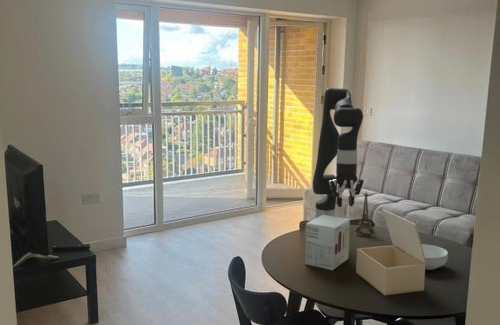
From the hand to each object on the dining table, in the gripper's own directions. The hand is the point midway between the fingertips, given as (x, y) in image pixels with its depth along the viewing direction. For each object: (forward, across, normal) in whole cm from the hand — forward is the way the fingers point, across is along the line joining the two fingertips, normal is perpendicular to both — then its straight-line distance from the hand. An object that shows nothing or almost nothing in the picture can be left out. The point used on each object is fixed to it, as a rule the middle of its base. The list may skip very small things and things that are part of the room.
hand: (345, 206), depth 181 cm
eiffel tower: (+30, +37, +52) cm, 70 cm away
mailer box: (+29, +16, -6) cm, 34 cm away
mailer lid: (+11, +21, -6) cm, 25 cm away
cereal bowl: (+30, +39, +4) cm, 49 cm away
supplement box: (+30, +2, +20) cm, 36 cm away
